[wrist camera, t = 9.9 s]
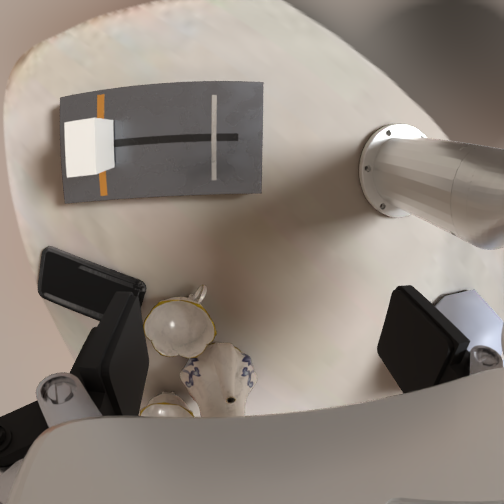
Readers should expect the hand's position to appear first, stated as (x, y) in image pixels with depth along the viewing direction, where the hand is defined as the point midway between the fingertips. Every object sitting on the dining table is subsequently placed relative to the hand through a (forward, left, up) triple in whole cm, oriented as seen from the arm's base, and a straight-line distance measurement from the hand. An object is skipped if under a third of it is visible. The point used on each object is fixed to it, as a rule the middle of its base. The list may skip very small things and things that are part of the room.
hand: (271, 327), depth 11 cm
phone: (+18, +12, -28) cm, 35 cm away
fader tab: (+13, -6, -24) cm, 28 cm away
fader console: (+7, -6, -27) cm, 29 cm away
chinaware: (+4, +25, -28) cm, 37 cm away
